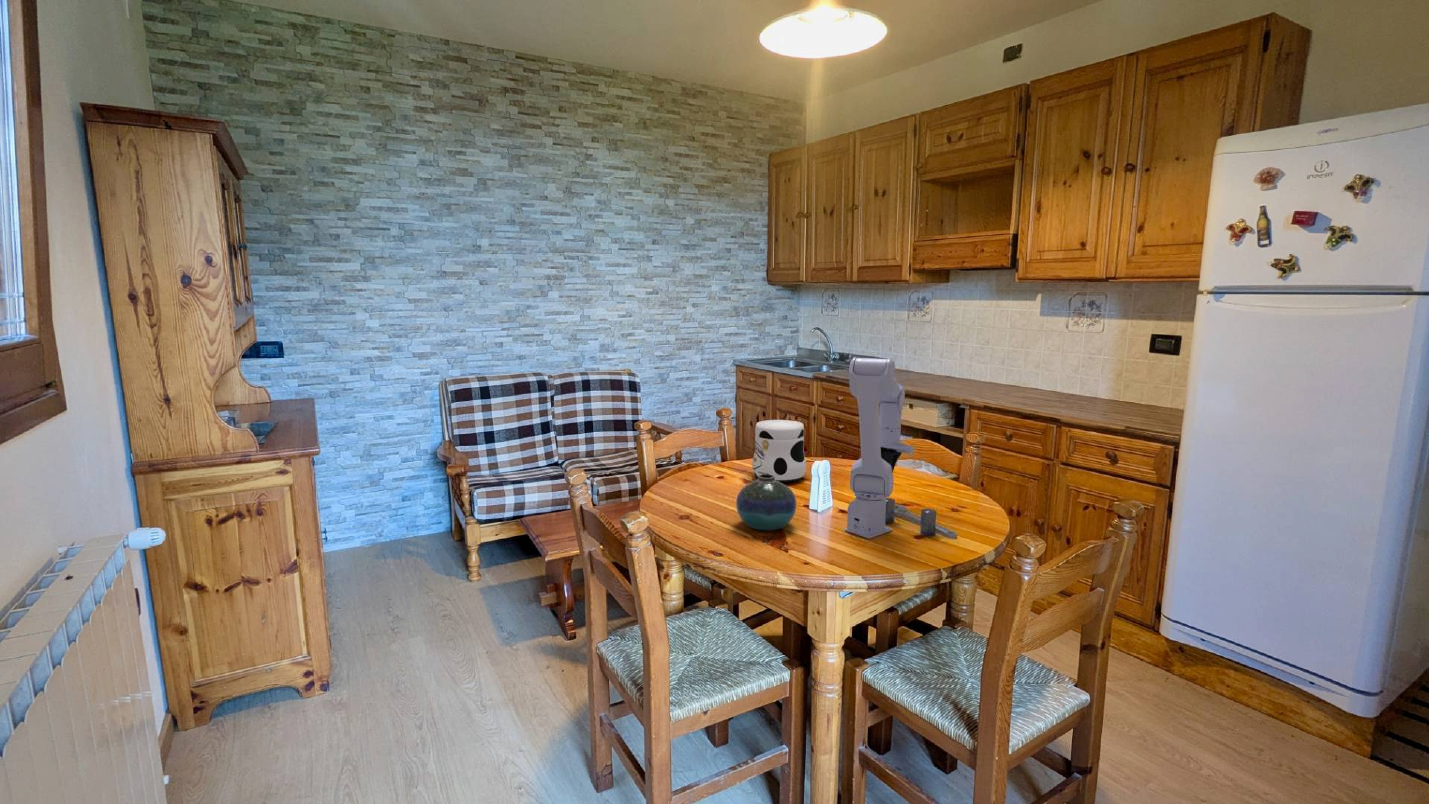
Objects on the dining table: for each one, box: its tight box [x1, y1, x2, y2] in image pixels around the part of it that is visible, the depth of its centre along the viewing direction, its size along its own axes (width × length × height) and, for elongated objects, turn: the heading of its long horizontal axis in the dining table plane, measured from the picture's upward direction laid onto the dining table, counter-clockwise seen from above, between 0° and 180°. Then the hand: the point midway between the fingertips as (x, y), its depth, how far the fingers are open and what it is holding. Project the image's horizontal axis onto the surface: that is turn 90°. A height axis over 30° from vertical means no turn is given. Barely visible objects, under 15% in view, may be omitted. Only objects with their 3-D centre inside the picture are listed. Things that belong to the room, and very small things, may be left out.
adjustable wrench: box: [894, 503, 958, 540], centre depth 174 cm, size 25×6×2 cm, turn 20°
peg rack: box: [885, 497, 937, 538], centre depth 170 cm, size 4×16×6 cm, turn 40°
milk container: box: [752, 419, 807, 483], centre depth 215 cm, size 17×17×18 cm
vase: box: [735, 474, 798, 532], centre depth 170 cm, size 15×15×13 cm
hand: (888, 475), depth 184 cm, fingers closed
